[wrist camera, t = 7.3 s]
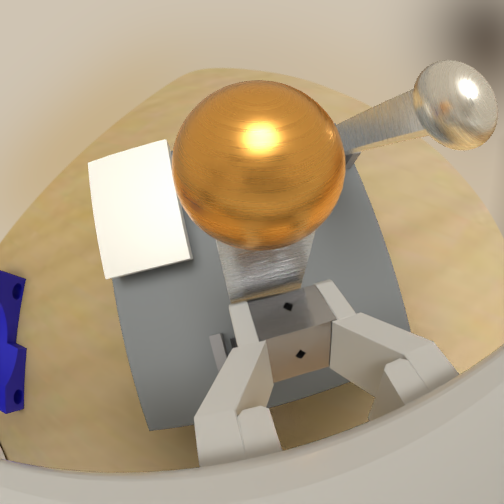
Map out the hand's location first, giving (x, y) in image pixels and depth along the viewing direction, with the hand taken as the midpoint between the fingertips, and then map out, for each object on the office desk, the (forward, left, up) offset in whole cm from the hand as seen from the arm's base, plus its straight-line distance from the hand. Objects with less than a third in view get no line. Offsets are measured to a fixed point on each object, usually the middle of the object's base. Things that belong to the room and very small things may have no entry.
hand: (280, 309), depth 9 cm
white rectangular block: (-5, +7, -7) cm, 12 cm away
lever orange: (0, -2, -8) cm, 8 cm away
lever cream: (+7, +9, -8) cm, 14 cm away
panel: (+1, +4, -13) cm, 14 cm away
